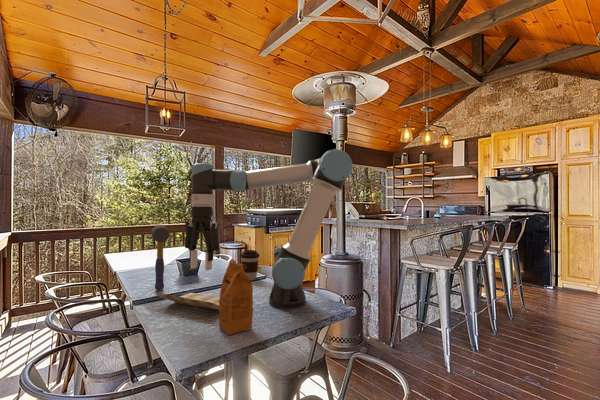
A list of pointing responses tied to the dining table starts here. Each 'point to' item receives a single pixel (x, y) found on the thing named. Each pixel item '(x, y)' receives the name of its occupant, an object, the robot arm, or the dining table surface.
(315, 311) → the dining table surface
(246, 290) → the coffee package
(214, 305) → the plank
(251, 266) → the coffee cup
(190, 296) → the wooden board
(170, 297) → the plank
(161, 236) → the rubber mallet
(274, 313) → the dining table surface
